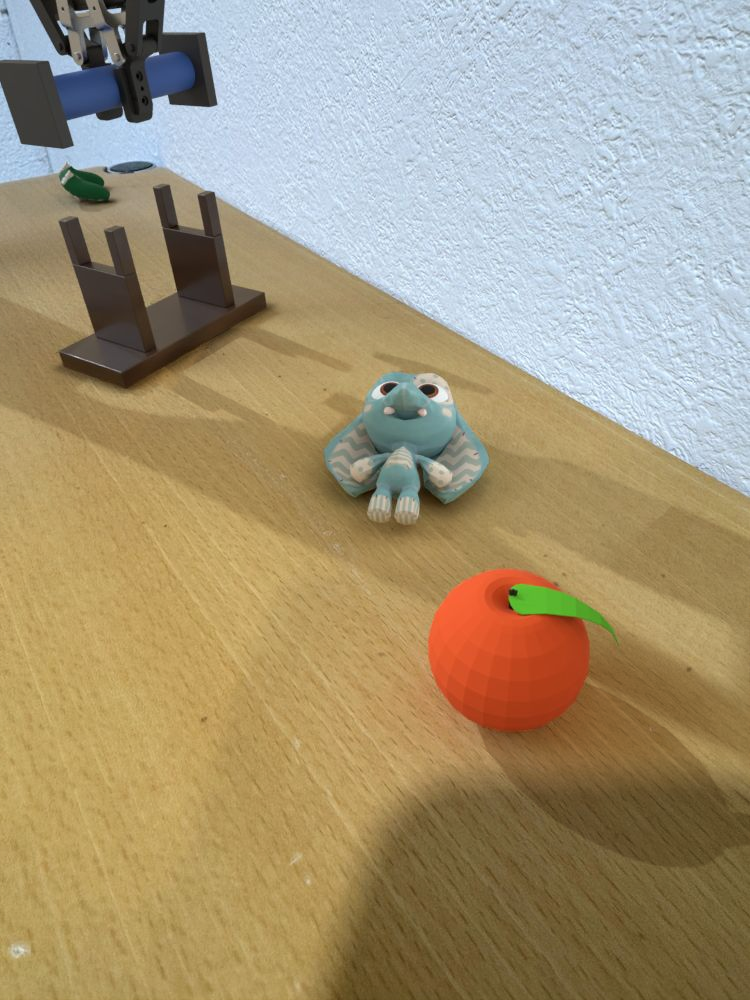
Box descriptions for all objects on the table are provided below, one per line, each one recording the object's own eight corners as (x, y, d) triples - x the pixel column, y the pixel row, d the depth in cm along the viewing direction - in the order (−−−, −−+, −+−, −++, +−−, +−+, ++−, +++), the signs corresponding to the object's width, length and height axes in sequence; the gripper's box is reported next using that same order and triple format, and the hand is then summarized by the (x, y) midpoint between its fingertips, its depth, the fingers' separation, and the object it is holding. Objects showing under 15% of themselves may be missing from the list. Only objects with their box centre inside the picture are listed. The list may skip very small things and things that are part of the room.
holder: (126, 388, 57) (82, 247, 49) (63, 366, 60) (14, 231, 53) (267, 306, 68) (248, 182, 61) (207, 292, 72) (183, 172, 64)
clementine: (596, 647, 34) (622, 541, 30) (608, 777, 29) (642, 673, 25) (434, 631, 36) (436, 527, 31) (419, 753, 30) (418, 649, 26)
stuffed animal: (290, 465, 38) (333, 332, 46) (309, 543, 44) (345, 412, 51) (488, 479, 36) (498, 337, 44) (482, 558, 42) (492, 420, 49)
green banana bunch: (92, 200, 106) (54, 175, 102) (105, 179, 105) (67, 153, 101) (99, 217, 99) (58, 191, 95) (113, 194, 98) (72, 167, 94)
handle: (177, 102, 61) (163, 32, 58) (217, 105, 59) (205, 32, 56) (20, 144, 51) (-8, 61, 48) (63, 149, 49) (36, 62, 46)
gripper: (170, -195, 43) (223, 115, 54) (30, -167, 50) (103, 106, 61) (74, -207, 39) (153, 136, 50) (-68, -174, 45) (30, 124, 56)
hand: (125, 118), depth 55 cm, fingers closed on handle, 3 cm apart
